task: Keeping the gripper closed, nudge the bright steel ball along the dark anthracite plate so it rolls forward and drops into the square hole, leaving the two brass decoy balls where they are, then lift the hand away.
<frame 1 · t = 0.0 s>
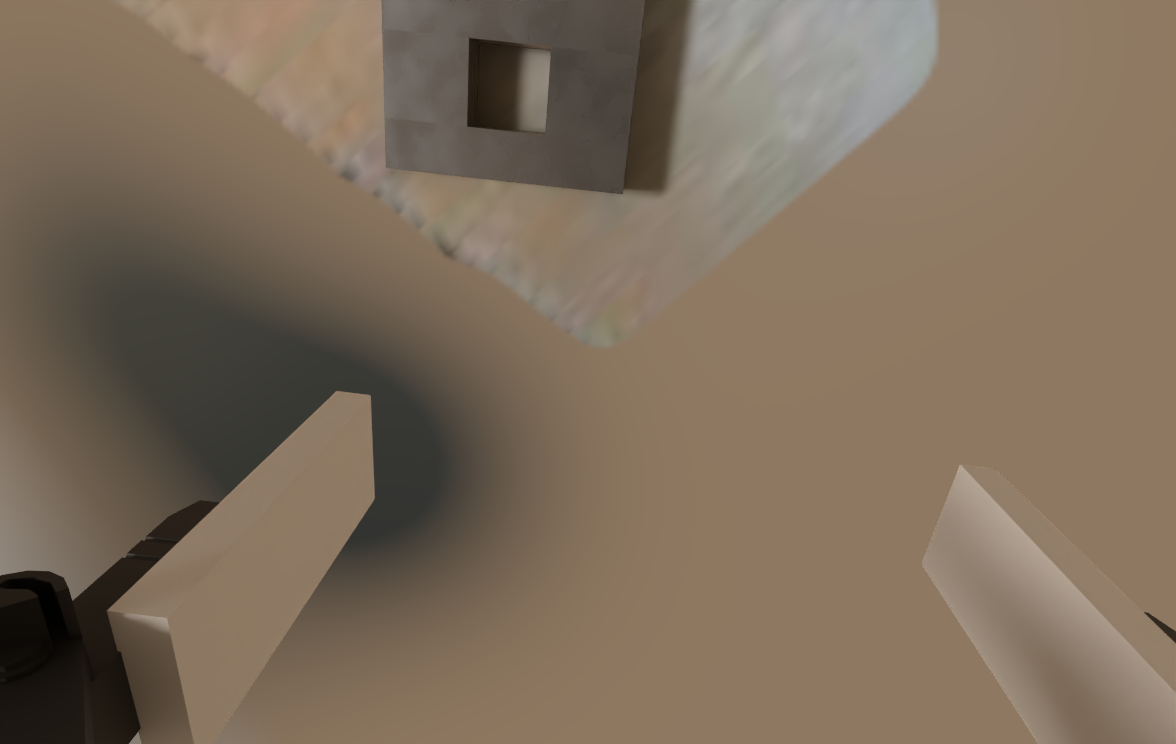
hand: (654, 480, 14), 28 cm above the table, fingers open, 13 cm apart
plate: (519, 12, 35), on the table
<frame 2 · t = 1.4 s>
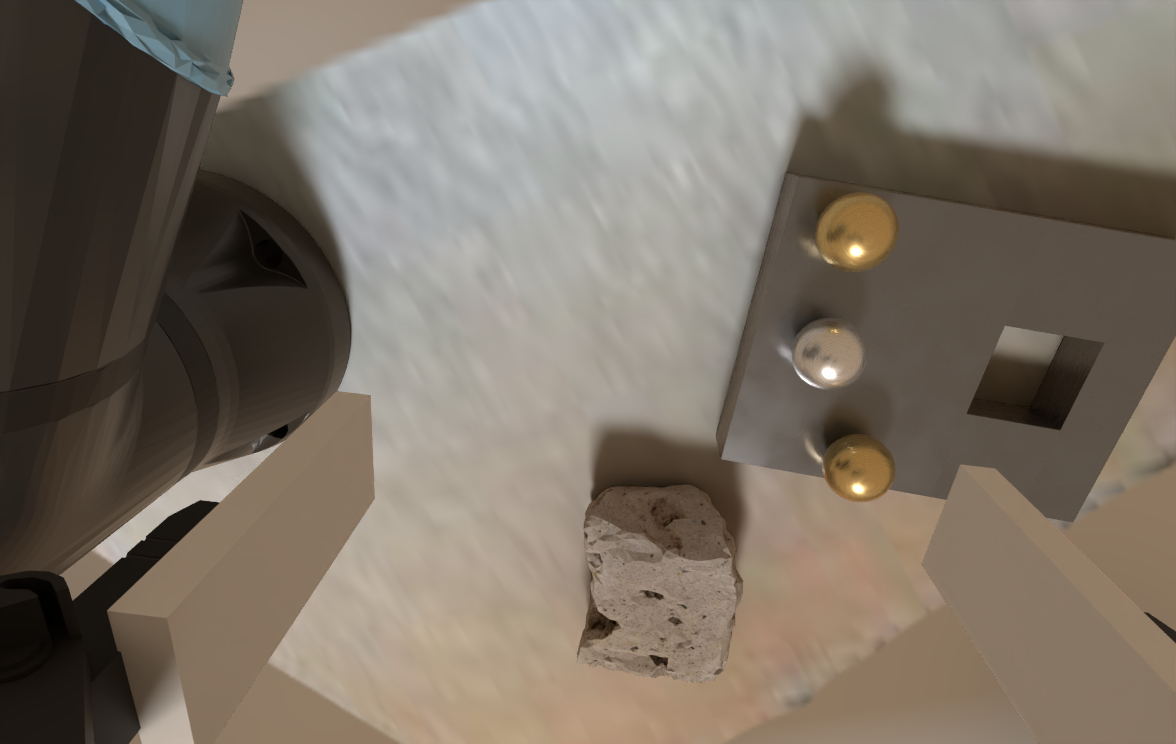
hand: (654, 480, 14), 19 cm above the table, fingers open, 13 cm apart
steel ball: (829, 353, 28), point 4 cm above the table, touching plate
plate: (925, 346, 31), on the table
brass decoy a: (855, 232, 26), point 4 cm above the table, touching plate
brass decoy b: (858, 467, 30), point 4 cm above the table, touching plate
stone: (652, 559, 38), on the table
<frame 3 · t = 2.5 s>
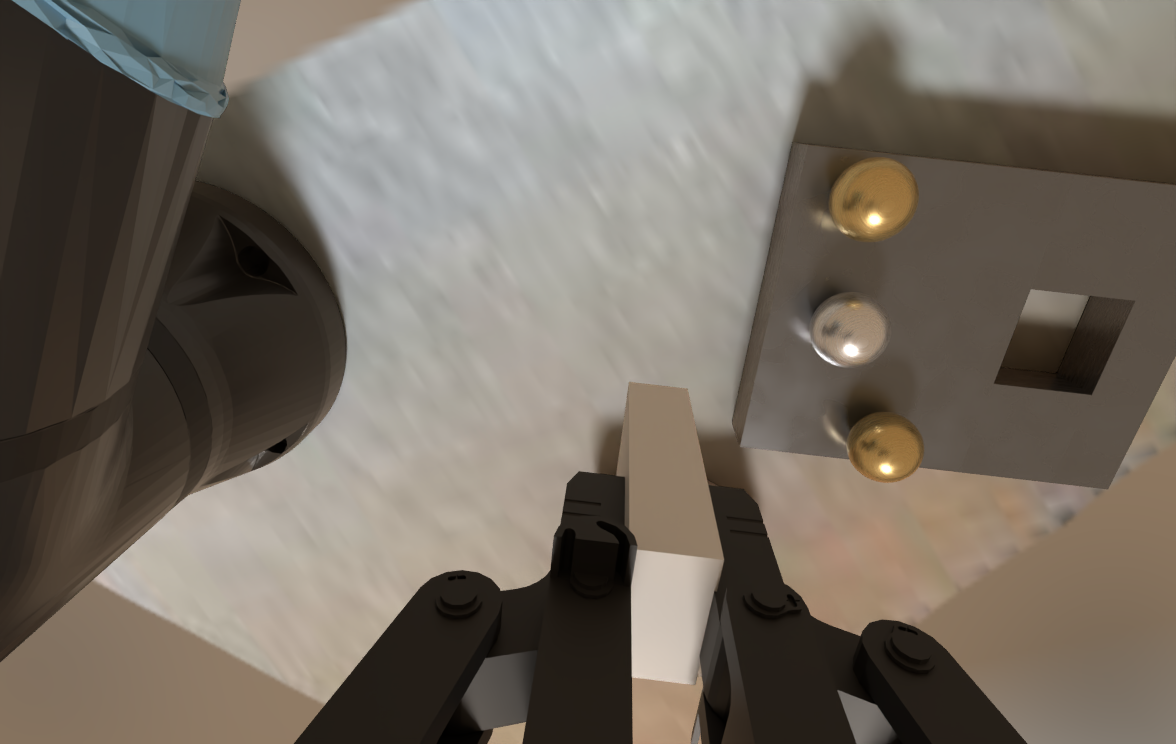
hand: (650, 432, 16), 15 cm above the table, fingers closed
steel ball: (849, 329, 26), point 4 cm above the table, touching plate
plate: (945, 316, 30), on the table
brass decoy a: (872, 200, 24), point 4 cm above the table, touching plate
brass decoy b: (884, 446, 28), point 4 cm above the table, touching plate
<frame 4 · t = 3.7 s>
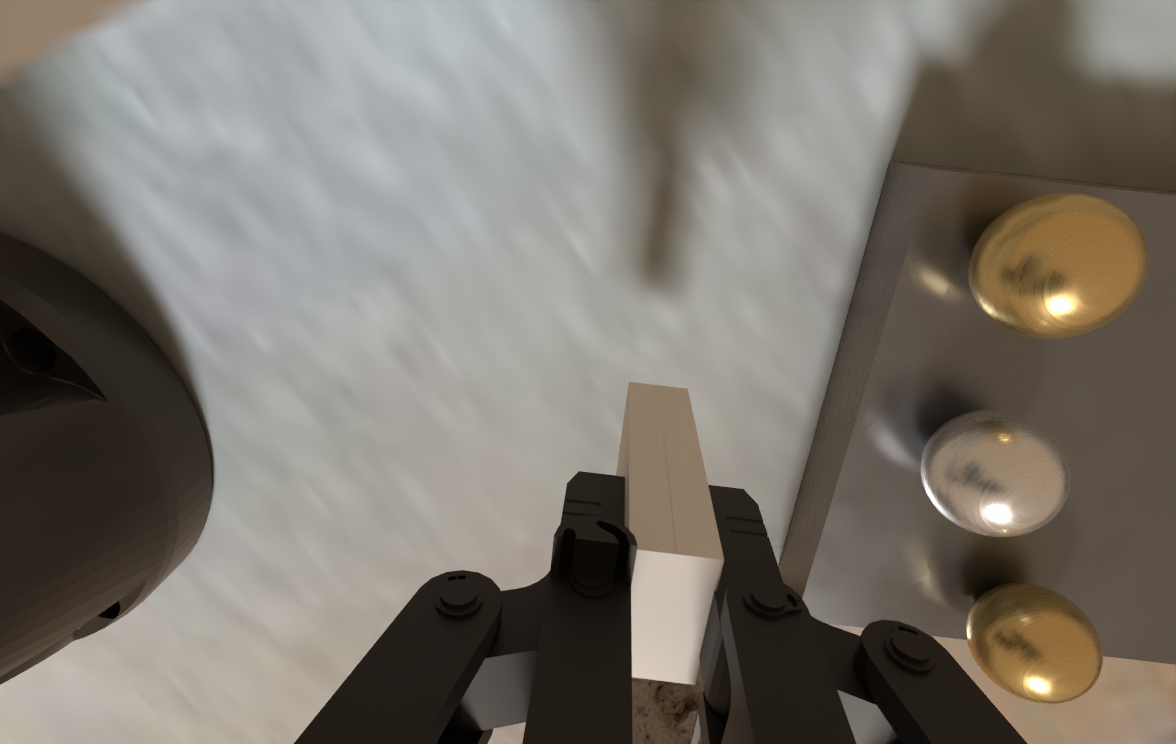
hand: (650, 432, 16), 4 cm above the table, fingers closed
steel ball: (991, 472, 16), point 4 cm above the table, touching plate
plate: (1111, 424, 20), on the table
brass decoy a: (1052, 267, 14), point 4 cm above the table, touching plate
brass decoy b: (1031, 641, 18), point 4 cm above the table, touching plate
stone: (664, 730, 27), on the table
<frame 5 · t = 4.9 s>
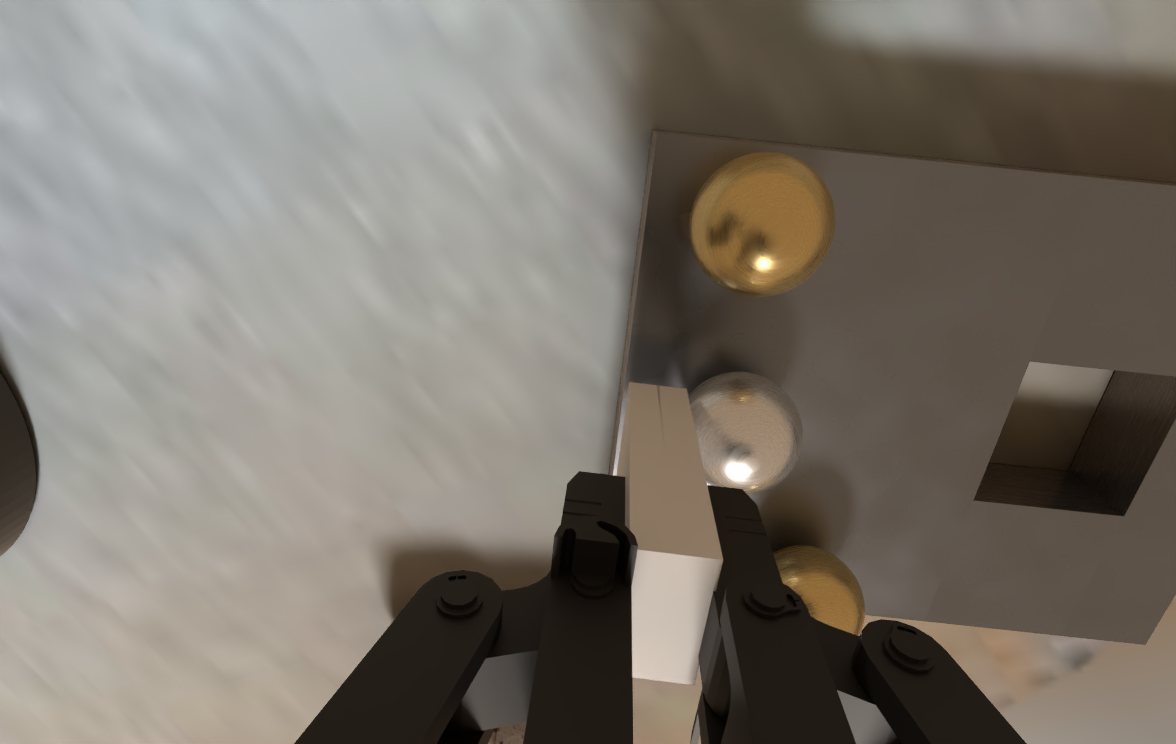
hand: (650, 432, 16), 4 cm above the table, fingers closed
steel ball: (738, 432, 16), point 4 cm above the table, touching gripper, plate
plate: (901, 391, 20), on the table
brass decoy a: (760, 226, 14), point 4 cm above the table, touching plate
brass decoy b: (805, 601, 18), point 4 cm above the table, touching plate
stone: (504, 705, 27), on the table
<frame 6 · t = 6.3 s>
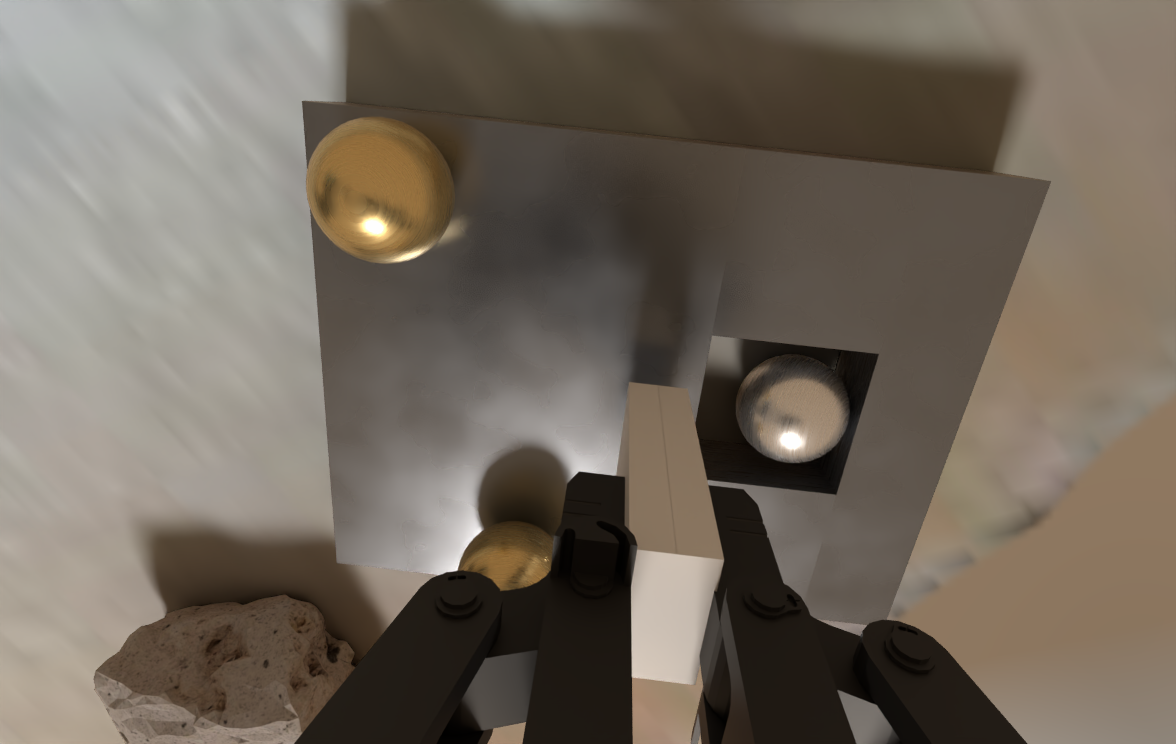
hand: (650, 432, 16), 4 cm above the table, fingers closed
steel ball: (791, 408, 18), point 2 cm above the table, tilted 54°
plate: (634, 369, 20), on the table
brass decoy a: (383, 192, 14), point 4 cm above the table, touching plate
brass decoy b: (512, 576, 18), point 4 cm above the table, touching plate
stone: (293, 690, 27), on the table
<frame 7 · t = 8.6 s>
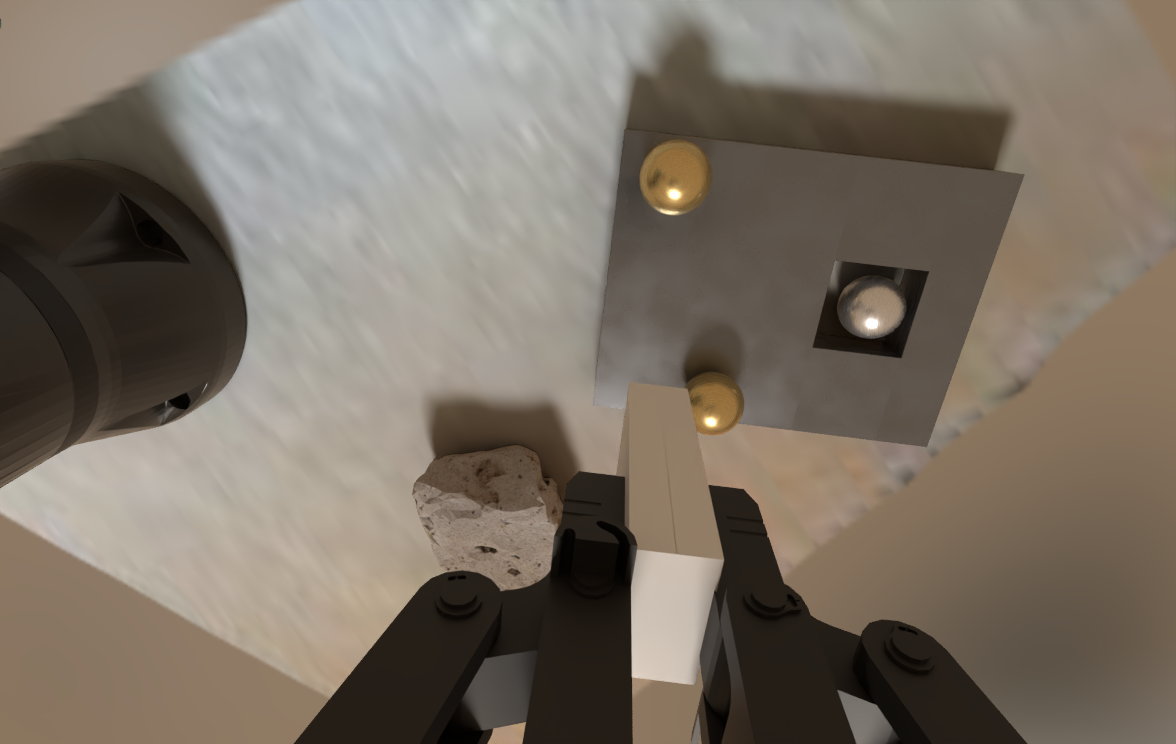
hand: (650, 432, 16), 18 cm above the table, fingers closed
steel ball: (871, 307, 31), point 2 cm above the table, tilted 47°
plate: (777, 288, 33), on the table
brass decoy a: (675, 178, 27), point 4 cm above the table, touching plate
brass decoy b: (711, 403, 31), point 4 cm above the table, touching plate
stone: (506, 520, 41), on the table
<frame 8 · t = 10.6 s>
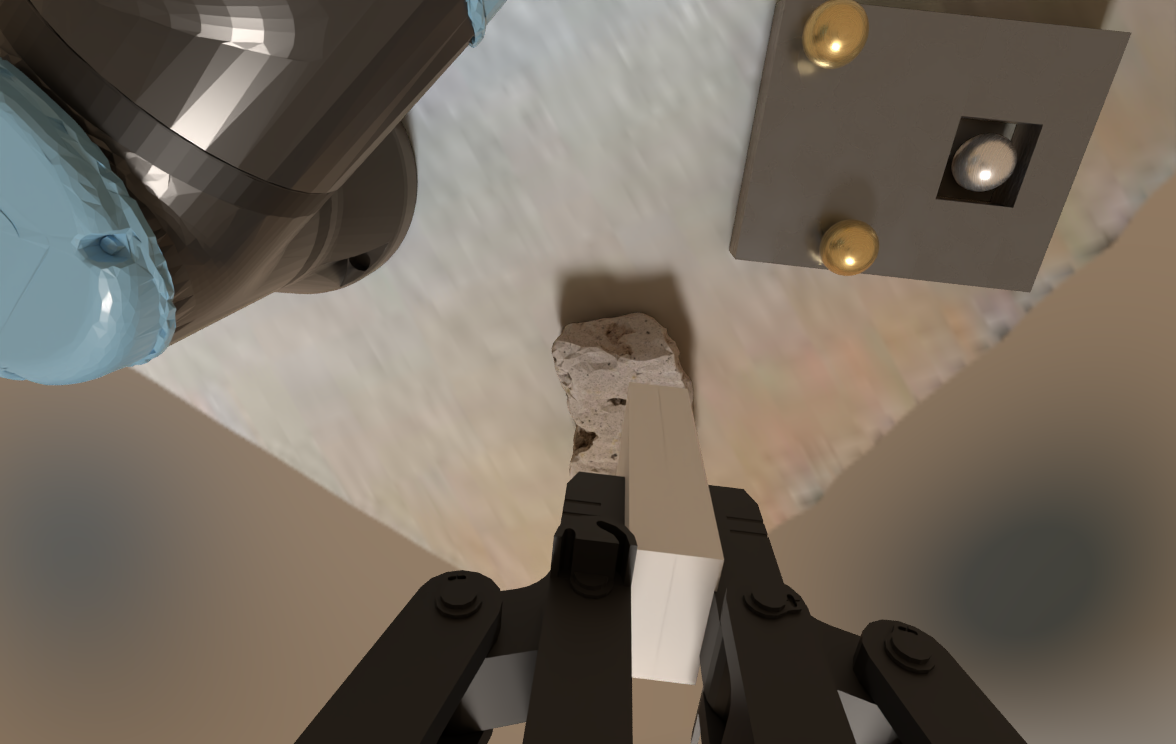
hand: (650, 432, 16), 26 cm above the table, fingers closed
steel ball: (983, 162, 36), point 2 cm above the table, tilted 40°
plate: (899, 152, 38), on the table
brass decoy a: (834, 34, 32), point 4 cm above the table, touching plate
brass decoy b: (848, 247, 36), point 4 cm above the table, touching plate
stone: (622, 389, 45), on the table
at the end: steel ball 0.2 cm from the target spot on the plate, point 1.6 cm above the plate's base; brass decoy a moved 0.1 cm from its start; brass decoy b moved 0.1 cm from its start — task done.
